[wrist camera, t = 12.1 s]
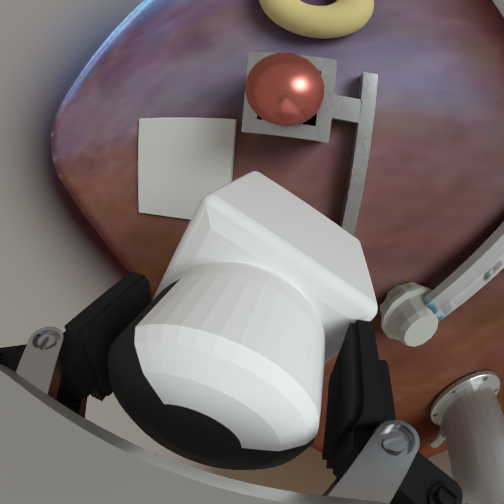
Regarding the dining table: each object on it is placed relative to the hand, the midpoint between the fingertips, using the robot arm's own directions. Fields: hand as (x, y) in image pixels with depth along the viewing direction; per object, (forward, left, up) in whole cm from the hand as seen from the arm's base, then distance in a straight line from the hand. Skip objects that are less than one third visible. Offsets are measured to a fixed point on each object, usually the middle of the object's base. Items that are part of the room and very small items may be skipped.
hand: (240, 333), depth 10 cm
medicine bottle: (0, 0, -8) cm, 8 cm away
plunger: (+9, +1, -17) cm, 20 cm away
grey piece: (-1, -20, -19) cm, 28 cm away
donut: (+20, -1, -19) cm, 28 cm away
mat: (+2, +11, -18) cm, 21 cm away
